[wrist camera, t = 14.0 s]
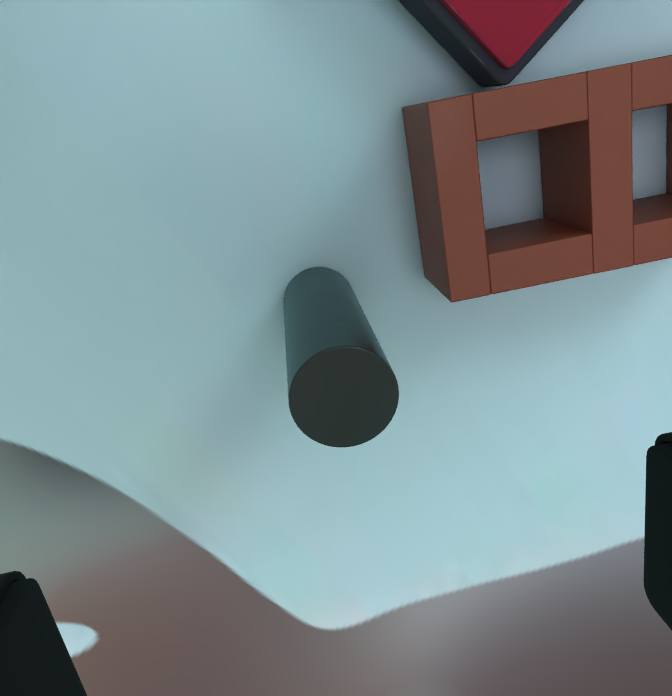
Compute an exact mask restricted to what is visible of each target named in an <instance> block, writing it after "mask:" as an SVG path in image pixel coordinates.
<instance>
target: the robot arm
mask: <svg viewBox="0 0 672 696" xmlns="http://www.w3.org/2000/svg"><path fill="white" fill-rule="evenodd" d="M644 551H645V552H644V587H645V592H646V594H647V597H648V599H649V601H650V603H651V605H652V606H653V608H654V609H655V610H656V612H657V613H658V614H659V615H660V617H661V618H662V619H663V620H664V622H665V623H666V624H667V625H668V626H669V628H670V629H671V630H672V432H670V433H665V434H661V435H660V436H658V437H657V439H656V441H655V446H651V447H650V448H649V449H648V451H647V456H646V502H645V548H644ZM0 696H87V694H86V692H85V690H84V688H83V685H82V683H81V681H80V678H79V676H78V674H77V671H76V669H75V667H74V665H73V662H72V660H71V657H70V655H69V653H68V651H67V648H66V646H65V644H64V641H63V639H62V637H61V634H60V632H59V630H58V628H57V625H56V623H55V621H54V618H53V616H52V614H51V611H50V609H49V607H48V605H47V602H46V600H45V598H44V595H43V593H42V591H41V588H40V586H39V584H38V583H37V581H36V580H35V579H32V578H29V579H26V578H25V576H24V575H23V574H22V573H21V572H18V571H13V572H8V573H3V574H0Z"/></svg>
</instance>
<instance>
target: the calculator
mask: <svg viewBox="0 0 672 696" xmlns="http://www.w3.org/2000/svg"><path fill="white" fill-rule="evenodd" d="M399 1H400V2H401V3H402V4H403V5H404V6H405V7H406V8H407V9H408V10H409V11H410V12H411V14H412V15H413V16H414V17H415V18H416V19H417V20H418V21H419V22H420V23H421V24H422V25H423V26H424V27H425V28H426V29H427V30H428V31H429V33H430V34H431V35H432V36H433V37H434V38H435V39H436V40H437V41H438V42H439V43H440V44H441V45H442V46H443V47H444V48H445V49H446V51H447V52H448V53H449V54H450V55H451V56H452V57H453V58H454V59H455V60H456V61H457V62H458V63H459V64H460V65H461V66H462V67H463V68H464V70H465V71H466V72H467V73H468V74H469V75H470V76H471V77H472V78H473V79H474V80H475V81H476V82H477V83H478V84H479V85H480V86H482V87H492V86H501V85H506V84H509V83H510V82H511V81H512V80H513V79H514V78H515V77H516V76H517V75H518V74H519V73H520V71H521V70H522V69H523V68H524V67H525V66H526V65H527V64H528V62H529V61H530V60H531V59H532V58H533V57H534V56H535V55H536V54H537V52H538V51H539V50H540V49H541V48H542V47H543V46H544V45H545V43H546V42H547V41H548V40H549V39H550V38H551V37H552V36H553V34H554V33H555V32H556V31H557V30H558V29H559V28H560V27H561V25H562V24H563V23H564V22H565V21H566V20H567V19H568V18H569V17H570V15H571V14H572V13H573V12H574V11H575V10H576V9H577V8H578V6H579V5H580V4H581V3H582V2H583V1H584V0H399Z"/></svg>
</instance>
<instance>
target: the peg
mask: <svg viewBox="0 0 672 696" xmlns="http://www.w3.org/2000/svg"><path fill="white" fill-rule="evenodd" d="M283 305H284V324H285V343H286V361H287V380H288V399H289V408H290V412H291V415H292V417H293V419H294V421H295V423H296V424H297V426H298V427H299V428H300V430H301V431H302V432H303V433H304V434H306V435H307V436H308V437H309V438H311V439H312V440H314V441H316V442H318V443H321V444H324V445H327V446H332V447H350V446H356V445H359V444H362V443H365V442H367V441H369V440H371V439H373V438H374V437H375V436H377V435H378V434H379V433H381V432H382V431H383V430H384V429H385V428H386V426H387V425H388V424H389V422H390V421H391V420H392V418H393V416H394V414H395V411H396V408H397V405H398V399H399V389H398V383H397V380H396V377H395V374H394V372H393V370H392V368H391V366H390V364H389V362H388V360H387V358H386V356H385V354H384V352H383V350H382V348H381V346H380V344H379V342H378V340H377V338H376V336H375V334H374V332H373V330H372V328H371V326H370V324H369V322H368V320H367V318H366V316H365V314H364V312H363V310H362V308H361V306H360V304H359V302H358V300H357V298H356V296H355V294H354V292H353V290H352V288H351V286H350V284H349V282H348V281H347V280H346V279H345V278H344V277H343V276H342V275H341V274H340V273H338V272H336V271H334V270H332V269H329V268H324V267H315V268H310V269H307V270H304V271H302V272H300V273H299V274H297V275H296V276H295V277H294V278H293V279H292V280H291V281H290V283H289V284H288V286H287V288H286V290H285V294H284V300H283Z"/></svg>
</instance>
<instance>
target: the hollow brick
mask: <svg viewBox="0 0 672 696" xmlns="http://www.w3.org/2000/svg"><path fill="white" fill-rule="evenodd" d="M666 104H668V146H667V194H662V195H657V196H652V197H647V198H642V199H637V200H633V192H632V111H636V110H641V109H646V108H651V107H656V106H661V105H666ZM402 112H403V119H404V127H405V134H406V142H407V149H408V157H409V164H410V171H411V179H412V186H413V194H414V201H415V209H416V216H417V224H418V231H419V239H420V246H421V254H422V261H423V269H424V276H425V278H426V279H427V280H429V281H430V282H431V283H432V284H433V285H434V286H435V287H436V288H437V289H438V290H439V291H440V292H441V293H442V294H443V295H444V296H445V297H446V298H447V299H448V300H449V301H450V302H456V301H461V300H466V299H471V298H476V297H481V296H486V295H490V294H495V293H500V292H505V291H510V290H515V289H520V288H525V287H530V286H535V285H540V284H545V283H549V282H554V281H559V280H564V279H569V278H574V277H579V276H584V275H589V274H592V273H594V274H595V273H600V272H605V271H609V270H614V269H619V268H624V267H629V266H633V265H638V264H642V263H647V262H652V261H657V260H662V259H667V258H672V55H669V56H664V57H658V58H653V59H648V60H643V61H638V62H633V63H627V64H622V65H617V66H612V67H607V68H602V69H596V70H591V71H586V72H581V73H576V74H571V75H566V76H560V77H555V78H550V79H545V80H540V81H535V82H529V83H524V84H519V85H514V86H509V87H504V88H499V89H493V90H488V91H483V92H478V93H473V94H468V95H462V96H457V97H452V98H447V99H442V100H437V101H431V102H426V103H421V104H416V105H411V106H406V107H403V108H402ZM534 130H539V141H540V157H541V173H542V190H543V206H544V219H543V218H542V219H537V220H532V221H527V222H522V223H517V224H512V225H507V226H502V227H498V228H493V229H488V230H485V228H484V217H483V207H482V196H481V186H480V175H479V165H478V154H477V144H476V141H483V140H488V139H493V138H498V137H503V136H508V135H513V134H519V133H524V132H529V131H534Z"/></svg>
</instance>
